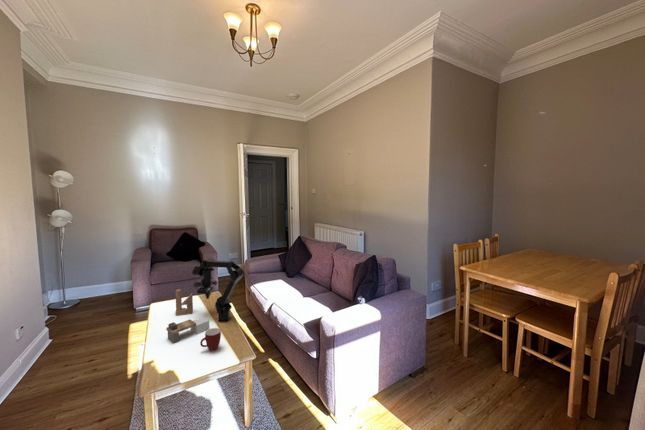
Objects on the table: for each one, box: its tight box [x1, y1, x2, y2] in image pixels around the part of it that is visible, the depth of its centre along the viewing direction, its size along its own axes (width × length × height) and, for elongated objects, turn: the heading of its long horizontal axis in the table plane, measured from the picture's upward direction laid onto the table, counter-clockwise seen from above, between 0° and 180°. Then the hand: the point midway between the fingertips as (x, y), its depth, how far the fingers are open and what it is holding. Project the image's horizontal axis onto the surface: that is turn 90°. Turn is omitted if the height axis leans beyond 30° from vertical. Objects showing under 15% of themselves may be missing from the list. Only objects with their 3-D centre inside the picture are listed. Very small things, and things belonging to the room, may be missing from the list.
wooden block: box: [175, 288, 194, 316], centre depth 192 cm, size 4×11×18 cm, turn 111°
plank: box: [165, 319, 196, 335], centre depth 161 cm, size 14×8×4 cm, turn 141°
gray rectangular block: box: [167, 316, 210, 344], centre depth 165 cm, size 22×8×6 cm, turn 141°
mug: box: [199, 327, 222, 352], centre depth 148 cm, size 10×8×10 cm
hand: (207, 298), depth 187 cm, fingers closed
